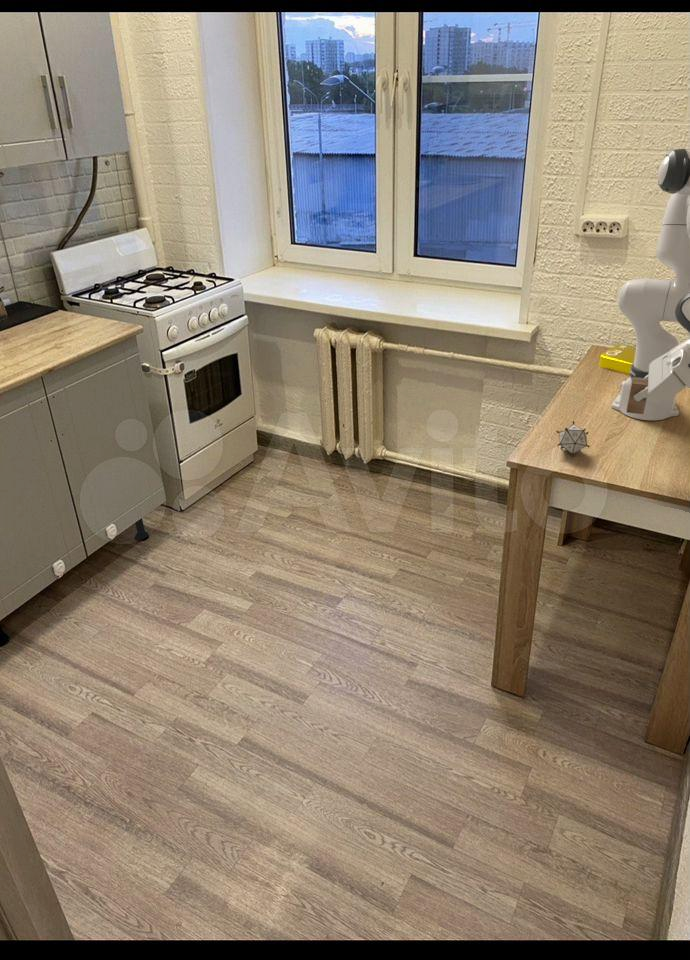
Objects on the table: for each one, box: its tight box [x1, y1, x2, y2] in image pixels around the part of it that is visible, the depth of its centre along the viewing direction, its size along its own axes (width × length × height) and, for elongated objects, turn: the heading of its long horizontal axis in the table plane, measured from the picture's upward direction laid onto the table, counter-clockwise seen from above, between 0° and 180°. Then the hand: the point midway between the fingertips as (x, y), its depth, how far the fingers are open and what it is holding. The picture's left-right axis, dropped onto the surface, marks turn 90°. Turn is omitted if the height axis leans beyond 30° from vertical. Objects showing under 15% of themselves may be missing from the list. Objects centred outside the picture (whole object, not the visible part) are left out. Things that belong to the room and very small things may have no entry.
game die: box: [556, 420, 591, 458], centre depth 190 cm, size 9×8×10 cm
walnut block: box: [627, 377, 648, 414], centre depth 179 cm, size 4×4×8 cm
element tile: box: [598, 344, 636, 376], centre depth 243 cm, size 15×15×5 cm
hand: (635, 393), depth 179 cm, fingers closed on walnut block, 4 cm apart
